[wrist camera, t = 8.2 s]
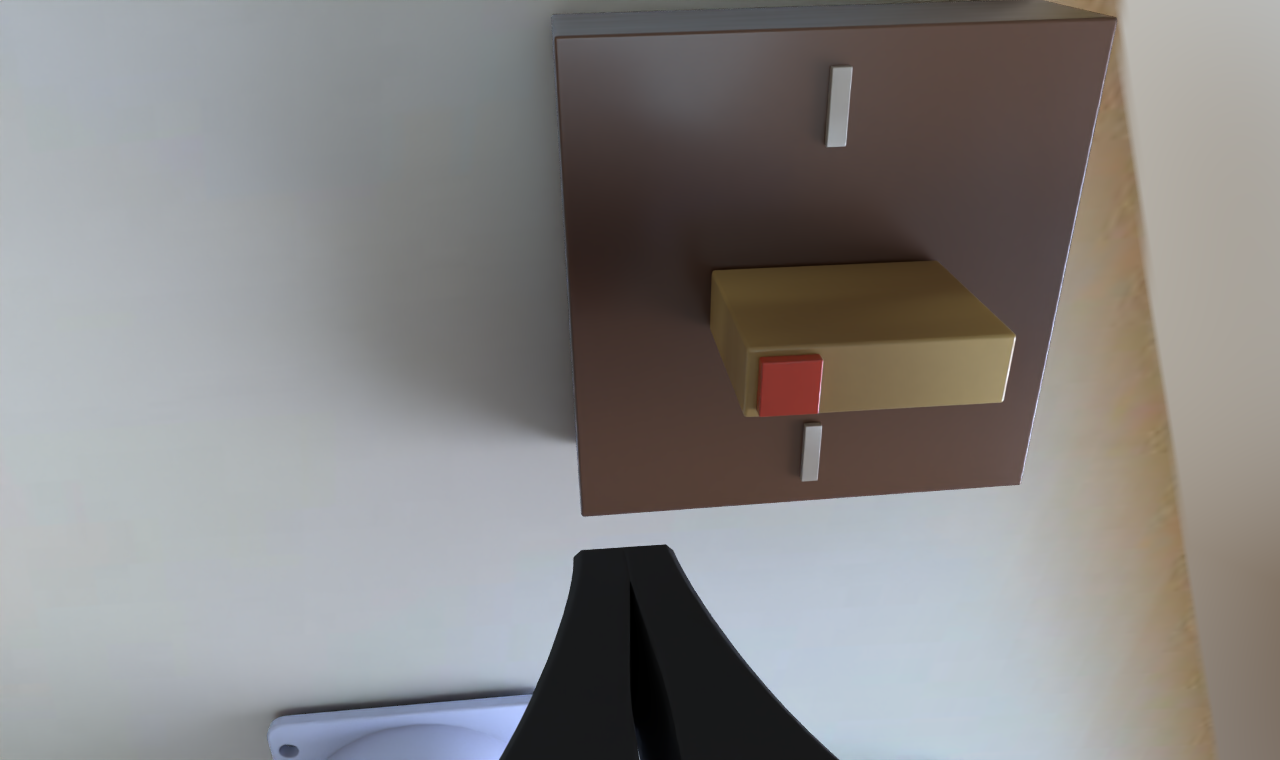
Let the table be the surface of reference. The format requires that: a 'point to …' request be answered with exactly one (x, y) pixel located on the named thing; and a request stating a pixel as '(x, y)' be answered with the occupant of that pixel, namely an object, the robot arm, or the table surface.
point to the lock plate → (809, 224)
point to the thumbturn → (856, 338)
